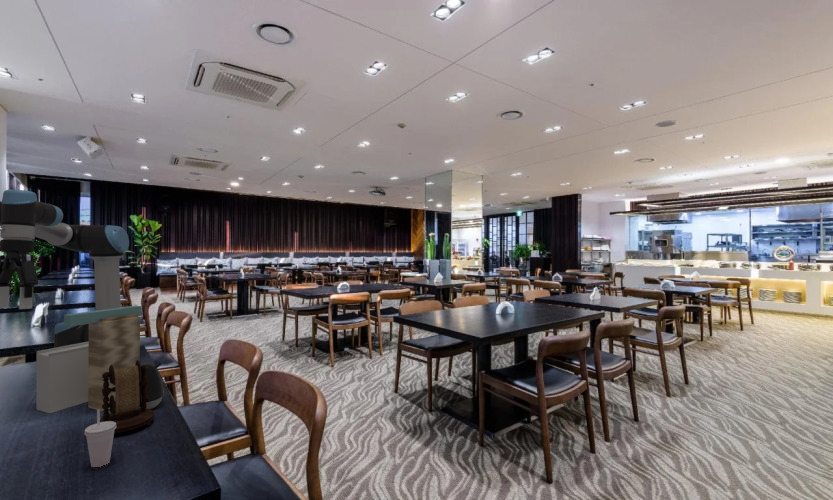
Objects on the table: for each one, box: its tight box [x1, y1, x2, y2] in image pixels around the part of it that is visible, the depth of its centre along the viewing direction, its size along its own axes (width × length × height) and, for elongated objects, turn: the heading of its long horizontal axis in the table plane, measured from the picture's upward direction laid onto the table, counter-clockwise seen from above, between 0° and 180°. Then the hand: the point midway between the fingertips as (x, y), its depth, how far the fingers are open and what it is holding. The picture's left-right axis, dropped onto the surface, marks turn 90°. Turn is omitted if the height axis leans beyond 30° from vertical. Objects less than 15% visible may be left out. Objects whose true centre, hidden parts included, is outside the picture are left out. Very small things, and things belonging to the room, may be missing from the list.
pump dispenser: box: [139, 361, 165, 410], centre depth 134 cm, size 10×10×15 cm
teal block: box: [63, 305, 143, 326], centre depth 135 cm, size 22×4×4 cm, turn 157°
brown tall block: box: [87, 314, 141, 412], centre depth 138 cm, size 12×8×31 cm, turn 157°
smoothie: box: [84, 409, 116, 468], centre depth 99 cm, size 6×6×14 cm
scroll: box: [94, 360, 155, 434], centre depth 120 cm, size 15×15×20 cm
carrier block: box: [35, 342, 89, 414], centre depth 137 cm, size 16×8×20 cm, turn 157°
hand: (13, 308), depth 120 cm, fingers open, 13 cm apart
